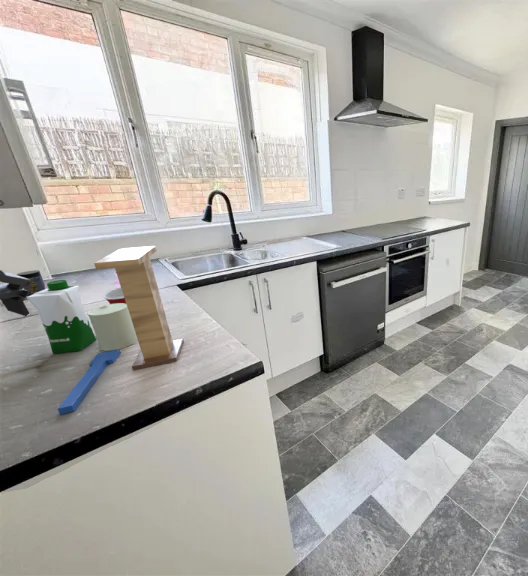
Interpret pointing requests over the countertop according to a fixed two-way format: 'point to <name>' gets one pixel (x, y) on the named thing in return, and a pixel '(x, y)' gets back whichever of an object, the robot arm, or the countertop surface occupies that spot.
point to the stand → (143, 305)
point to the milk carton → (63, 317)
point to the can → (113, 326)
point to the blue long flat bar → (87, 380)
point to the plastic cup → (115, 296)
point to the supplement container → (33, 281)
